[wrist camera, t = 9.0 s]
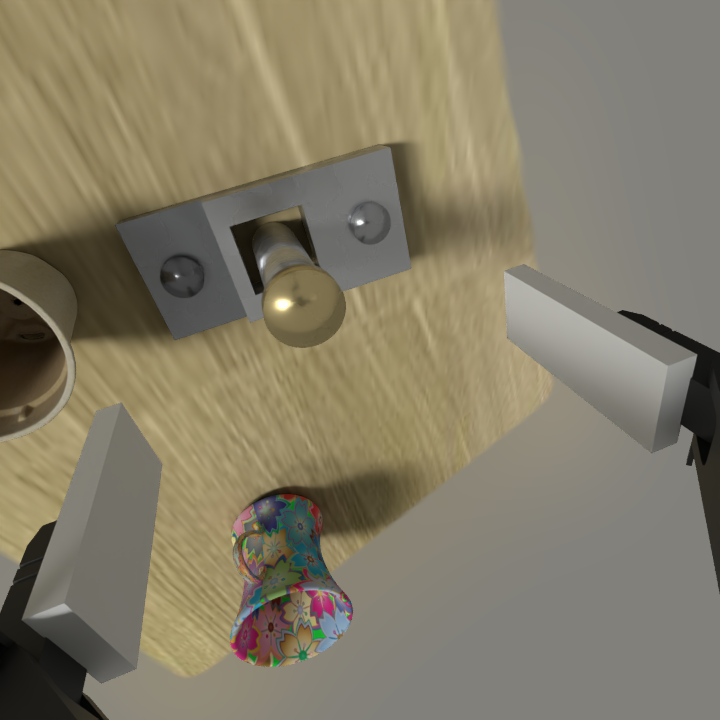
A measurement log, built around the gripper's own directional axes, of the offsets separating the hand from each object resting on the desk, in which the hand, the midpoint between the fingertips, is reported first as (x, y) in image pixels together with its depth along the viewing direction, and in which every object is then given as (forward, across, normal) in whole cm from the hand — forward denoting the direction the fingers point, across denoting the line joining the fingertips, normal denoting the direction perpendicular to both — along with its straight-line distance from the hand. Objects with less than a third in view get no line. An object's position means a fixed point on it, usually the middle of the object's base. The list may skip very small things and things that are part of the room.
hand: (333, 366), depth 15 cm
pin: (+18, 0, -1) cm, 18 cm away
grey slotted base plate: (+18, 0, -1) cm, 18 cm away
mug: (+18, -8, -25) cm, 32 cm away
